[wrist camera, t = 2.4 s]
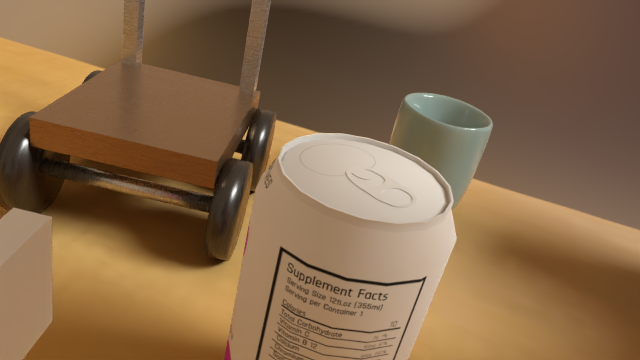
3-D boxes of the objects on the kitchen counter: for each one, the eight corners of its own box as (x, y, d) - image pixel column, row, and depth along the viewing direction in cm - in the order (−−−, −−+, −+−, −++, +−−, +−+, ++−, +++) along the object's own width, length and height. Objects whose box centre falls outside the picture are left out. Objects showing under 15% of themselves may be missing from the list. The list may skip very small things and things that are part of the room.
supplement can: (182, 405, 28) (219, 143, 21) (301, 341, 33) (361, 117, 26) (283, 541, 23) (374, 261, 16) (401, 440, 29) (507, 200, 22)
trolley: (266, 169, 52) (328, -155, 39) (221, 281, 37) (297, -189, 24) (108, 132, 51) (119, -207, 39) (-4, 229, 36) (-44, -272, 24)
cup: (471, 225, 51) (512, 128, 46) (407, 236, 47) (445, 131, 42) (419, 183, 56) (451, 92, 52) (358, 189, 52) (386, 91, 48)
